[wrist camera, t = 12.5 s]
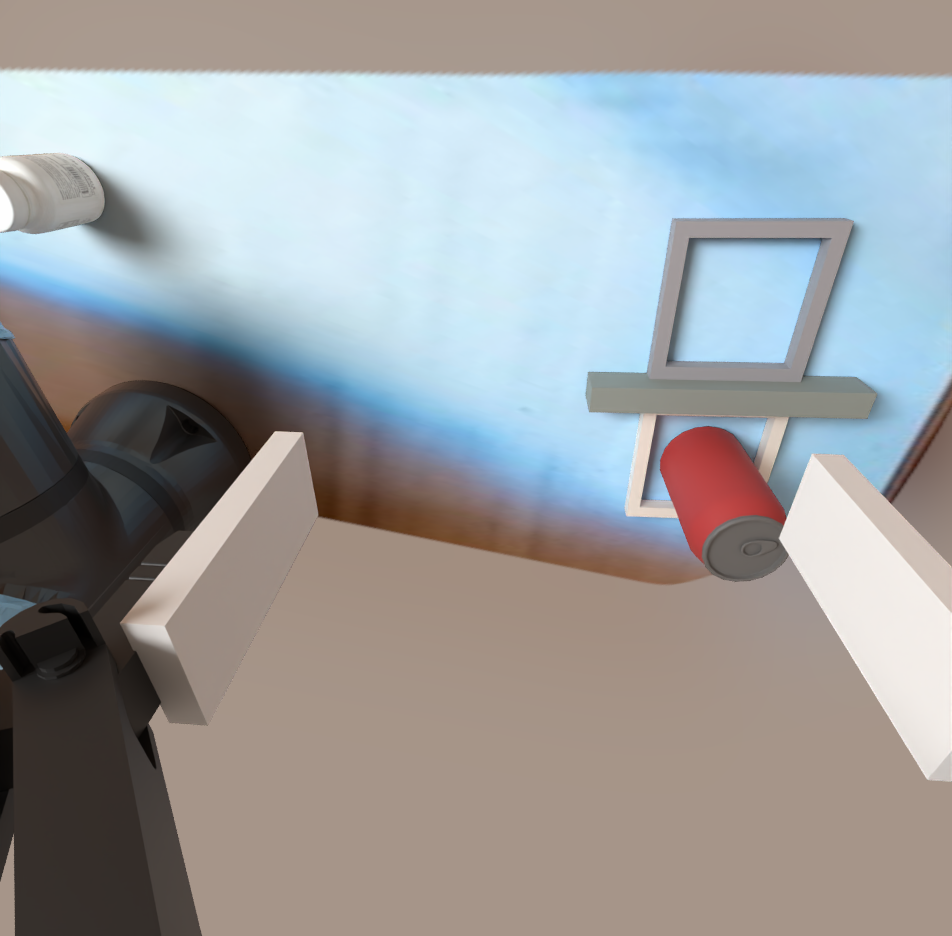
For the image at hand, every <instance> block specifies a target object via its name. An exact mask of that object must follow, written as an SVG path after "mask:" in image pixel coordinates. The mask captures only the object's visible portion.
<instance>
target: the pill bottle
mask: <svg viewBox="0 0 952 936" xmlns="http://www.w3.org/2000/svg"><path fill="white" fill-rule="evenodd" d="M104 205H105V198H104V191H103V188H102V186H101V184H100V181H99V180H98V178H97V176H96V175H95V173H94V172H93V171H92V170H91V169H90V168H89V167H88V166H87V165H86V164H85V163H84V162H82V161H81V160H79V159H78V158H76V157H74V156H71V155H68V154H63V153H51V154H34V155H19V156H2V157H0V233H3V232H9V231H16V230H18V231H21V232H25V233H30V234H40V233H45V232H51V231H55V230H59V229H64V228H68V227H72V226H77V225H81V224H85V223H89V222H92V221H95V220H96V219H98V218H99V217H100V216H101V214H102V212H103V210H104Z"/></svg>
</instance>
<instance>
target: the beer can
mask: <svg viewBox="0 0 952 936" xmlns="http://www.w3.org/2000/svg"><path fill="white" fill-rule="evenodd" d="M660 471H661V474H662V477H663V479H664V482H665V484H666V487H667V490H668V492H669V495H670V497H671V500H672V503H673V505H674V508H675V510H676V513H677V516H678V518H679V521H680V524H681V526H682V529H683V531H684V534H685V537H686V539H687V542H688V544H689V547H690V549H691V551H692V552H693V553H694V554H695V556H696V557H697V558H698V559H699V560H700V561H701V562H702V563H703V564H705V567H706V568H707V569H708V570H709V571H710V572H711V573H712V574H713V575H715V576H717V577H719V578H721V579H723V580H729V581H735V582H737V581H751V580H754V579H758V578H762V577H764V576H766V575H768V574H770V573H772V572H773V571H775V570H776V569H777V568H778V567H780V566H781V565H782V564H783V563H784V562H785V560H786V559H787V557H788V555H789V554H788V552H787V551H786V549H785V548H784V546H783V544H782V543H781V541H780V539H779V537H780V534H781V532H782V529H783V527H784V524H785V521H786V519H787V518H786V515H785V511H784V508H783V507H782V505H781V504H780V502H779V501H778V499H777V498H776V496H775V495H774V493H773V492H772V490H771V489H770V487H769V486H768V484H767V483H766V481H765V480H764V478H763V477H762V475H761V474H760V472H759V471H758V469H757V468H756V466H755V465H754V463H753V462H752V460H751V459H750V457H749V456H748V454H747V453H746V451H745V450H744V448H743V447H742V445H741V444H740V442H739V441H738V440H737V439H736V438H735V437H734V435H733V434H731V433H729V432H727V431H726V430H724V429H721V428H716V427H710V426H706V427H696V428H693V429H690V430H688V431H685V432H683V433H681V434H680V435H678V436H677V437H675V438H674V439H673V440H672V441H671V442H670V443H669V444H668V446H667V447H666V448H665V450H664V452H663V454H662V457H661V459H660Z"/></svg>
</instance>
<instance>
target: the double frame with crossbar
mask: <svg viewBox="0 0 952 936" xmlns="http://www.w3.org/2000/svg"><path fill="white" fill-rule="evenodd" d="M853 222H854V221H852V220H849V219H845V218H712V219H672V223H671V229H670V235H669V242H668V248H667V254H666V260H665V266H664V272H663V278H662V284H661V290H660V296H659V302H658V308H657V314H656V320H655V326H654V332H653V338H652V344H651V350H650V356H649V362H648V368H647V373H619V372H588V378H587V387H586V399H587V404H588V409H589V412H608V413H640V417H639V423H638V429H637V435H636V441H635V447H634V453H633V459H632V465H631V471H630V477H629V483H628V489H627V495H626V501H625V512H626V516H638V517H664V518H678V516H677V513H676V510H675V508H674V505H673V503H672V501H668V500H641V497H642V492H643V486H644V481H645V475H646V470H647V465H648V459H649V454H650V448H651V443H652V437H653V432H654V427H655V421H656V416H657V415H677V416H717V417H758V418H767V421H766V424H765V428H764V431H763V434H762V438H761V441H760V444H759V447H758V451H757V454H756V457H755V460H754V465H755V466H756V468H757V469H758V471H759V472H760V474H761V475H762V477H763V478H764V480H765V481H766V483H768V480H769V477H770V474H771V471H772V468H773V465H774V462H775V459H776V456H777V453H778V450H779V447H780V444H781V441H782V438H783V435H784V431H785V428H786V425H787V422H788V419H789V417H813V418H854V419H867V418H868V415H869V413H870V411H871V408H872V406H873V403H874V401H875V399H876V396H877V393H876V392H875V391H874V390H872V389H871V388H870V387H868V386H867V385H866V384H864V383H863V382H862V381H861V380H859V379H858V378H857V377H829V376H803V374H804V371H805V368H806V365H807V362H808V359H809V356H810V353H811V350H812V347H813V344H814V340H815V337H816V334H817V331H818V328H819V325H820V322H821V319H822V316H823V313H824V310H825V307H826V304H827V301H828V298H829V295H830V292H831V289H832V286H833V283H834V280H835V277H836V274H837V271H838V268H839V265H840V262H841V259H842V256H843V253H844V249H845V246H846V243H847V240H848V237H849V234H850V231H851V228H852V225H853ZM689 238H822V242H821V245H820V248H819V251H818V255H817V258H816V261H815V264H814V268H813V271H812V274H811V277H810V281H809V284H808V287H807V291H806V294H805V297H804V300H803V304H802V307H801V310H800V313H799V317H798V320H797V323H796V326H795V330H794V333H793V336H792V340H791V343H790V346H789V349H788V353H787V356H786V359H785V362H784V363H747V362H690V361H667V356H668V350H669V345H670V339H671V334H672V329H673V323H674V318H675V312H676V307H677V301H678V296H679V291H680V285H681V280H682V274H683V269H684V263H685V258H686V252H687V247H688V242H689Z"/></svg>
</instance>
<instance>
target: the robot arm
mask: <svg viewBox="0 0 952 936" xmlns="http://www.w3.org/2000/svg"><path fill="white" fill-rule="evenodd" d="M12 339H15V337H14V335H13V334H12V333H11V331H9V330H7V329H5V328H4V327H3V325H2V324H1V322H0V880H1V877H2V873H3V870H4V866H5V863H6V859H7V855H8V852H9V848H10V845H11V841H12V837H13V834H14V876H15V877H14V878H15V879H14V880H15V936H202V934H201V930H200V926H199V922H198V918H197V914H196V910H195V906H194V901H193V897H192V893H191V888H190V885H189V880H188V876H187V872H186V868H185V863H184V859H183V855H182V851H181V847H180V843H179V838H178V834H177V830H176V826H175V822H174V817H173V813H172V809H171V805H170V801H169V797H168V792H167V788H166V784H165V780H164V776H163V772H162V767H161V763H160V759H159V755H158V751H157V746H156V742H155V738H154V734H153V731H152V729H151V727H150V725H149V724H148V723H149V721H150V720H151V718H152V716H153V715H154V713H155V712H156V710H157V708H158V707H159V705H161V707H162V709H163V711H164V713H165V715H166V717H167V719H168V721H169V722H170V723H181V724H194V725H207V726H208V725H209V723H210V721H211V719H212V717H213V715H214V713H215V711H216V709H217V707H218V705H219V704H220V702H221V700H222V698H223V696H224V694H225V692H226V690H227V688H228V686H229V685H230V683H231V681H232V679H233V677H234V675H235V673H236V671H237V669H238V667H239V665H240V663H241V662H242V660H243V658H244V656H245V654H246V652H247V650H248V648H249V646H250V645H251V643H252V641H253V639H254V637H255V635H256V633H257V631H258V629H259V627H260V626H261V624H262V622H263V620H264V618H265V616H266V614H267V612H268V610H269V608H270V606H271V604H272V603H273V601H274V599H275V597H276V595H277V593H278V591H279V589H280V587H281V585H282V584H283V582H284V580H285V578H286V576H287V574H288V572H289V570H290V568H291V567H292V565H293V563H294V561H295V559H296V557H297V555H298V553H299V551H300V549H301V547H302V546H303V544H304V542H305V540H306V538H307V536H308V534H309V532H310V530H311V528H312V526H313V525H314V523H315V521H316V519H317V517H318V509H317V504H316V499H315V493H314V488H313V483H312V477H311V472H310V466H309V461H308V456H307V450H306V445H305V440H304V434H303V432H281V431H275V432H274V433H273V435H272V436H271V437H270V438H269V439H268V441H267V442H266V443H265V444H264V446H263V447H262V448H261V449H260V451H259V452H258V453H257V454H256V456H255V457H254V458H253V459H252V460H250V457H249V454H248V451H247V449H246V447H245V445H244V443H243V441H242V439H241V438H240V436H239V435H238V433H237V432H236V430H235V429H234V428H233V426H232V425H231V424H230V423H229V422H228V421H227V420H226V419H225V418H224V417H223V416H222V415H221V414H220V413H219V412H218V411H217V410H216V409H214V408H213V407H212V406H210V405H209V404H208V403H206V402H205V401H203V400H202V399H200V398H198V397H197V396H195V395H193V394H191V393H189V392H187V391H185V390H183V389H180V388H178V387H175V386H172V385H168V384H164V383H160V382H154V381H129V382H124V383H120V384H117V385H115V386H112V387H110V388H109V389H107V390H105V391H104V392H102V393H101V394H99V395H98V396H96V397H94V398H93V399H91V400H90V401H89V402H87V403H86V404H85V405H84V406H83V407H82V408H81V410H80V411H79V412H78V414H77V415H76V417H75V419H74V421H73V423H72V425H71V428H70V430H69V431H68V432H67V433H66V431H65V430H64V428H63V426H62V425H61V423H60V421H59V419H58V418H57V416H56V414H55V413H54V411H53V409H52V407H51V406H50V404H49V402H48V401H47V399H46V397H45V395H44V394H43V392H42V390H41V388H40V387H39V385H38V383H37V381H36V380H35V378H34V376H33V375H32V373H31V371H30V369H29V368H28V366H27V364H26V362H25V361H24V359H23V357H22V355H21V354H20V352H19V350H18V348H17V347H16V345H15V343H14V342H13V340H12ZM779 539H780V541H781V543H782V544H783V546H784V548H785V549H786V551H787V552H788V554H789V556H790V557H791V559H792V560H793V562H794V564H795V565H796V567H797V569H798V570H799V572H800V574H801V575H802V577H803V578H804V580H805V582H806V583H807V585H808V587H809V588H810V590H811V591H812V593H813V595H814V596H815V598H816V600H817V601H818V603H819V604H820V606H821V608H822V609H823V611H824V613H825V614H826V616H827V617H828V619H829V621H830V622H831V624H832V626H833V627H834V629H835V630H836V632H837V634H838V635H839V637H840V639H841V640H842V642H843V643H844V645H845V647H846V648H847V650H848V651H849V653H850V655H851V656H852V658H853V660H854V661H855V663H856V665H857V666H858V668H859V669H860V671H861V673H862V674H863V676H864V678H865V679H866V681H867V682H868V684H869V686H870V687H871V689H872V690H873V692H874V694H875V695H876V697H877V699H878V700H879V702H880V703H881V705H882V707H883V708H884V710H885V712H886V713H887V715H888V717H889V718H890V720H891V721H892V723H893V725H894V726H895V728H896V729H897V731H898V733H899V734H900V736H901V738H902V739H903V741H904V743H905V744H906V746H907V747H908V749H909V751H910V752H911V754H912V756H913V757H914V759H915V760H916V762H917V764H918V765H919V767H920V769H921V770H922V772H923V773H924V775H925V777H926V778H927V780H937V781H951V782H952V567H951V566H950V565H949V564H948V563H947V562H946V561H945V560H944V559H943V557H941V556H940V554H939V553H938V552H937V551H936V550H935V549H934V548H933V547H932V546H931V545H930V544H929V543H928V542H927V541H926V540H925V539H924V538H923V537H922V536H921V535H920V534H919V533H918V532H917V531H916V530H915V528H914V527H913V526H911V524H910V523H909V522H908V521H907V520H906V519H905V518H904V517H903V516H902V515H901V514H900V513H899V512H898V511H897V510H896V509H895V508H894V507H893V506H892V505H891V504H890V503H889V502H888V501H887V499H886V498H885V497H884V496H883V495H882V494H881V493H880V492H879V491H878V490H877V489H876V488H875V487H874V486H873V485H872V484H871V483H870V482H869V481H868V480H867V479H866V478H865V477H864V476H863V475H862V474H861V473H860V472H859V471H858V469H857V468H856V467H855V466H854V465H853V464H852V463H851V462H850V461H849V460H848V459H847V458H846V457H845V456H844V455H831V454H812V455H811V458H810V460H809V463H808V465H807V468H806V470H805V473H804V476H803V478H802V481H801V483H800V486H799V488H798V491H797V493H796V496H795V498H794V501H793V504H792V506H791V509H790V511H789V514H788V516H787V519H786V521H785V524H784V527H783V529H782V532H781V534H780V537H779Z"/></svg>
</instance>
